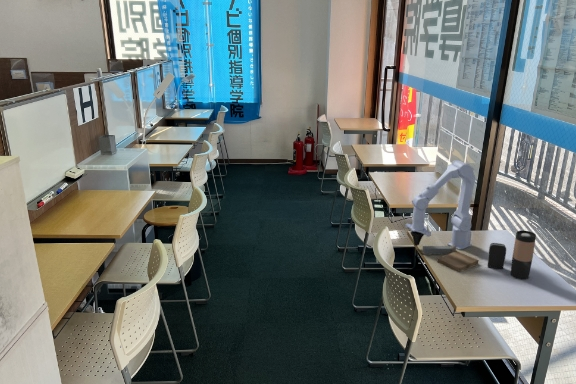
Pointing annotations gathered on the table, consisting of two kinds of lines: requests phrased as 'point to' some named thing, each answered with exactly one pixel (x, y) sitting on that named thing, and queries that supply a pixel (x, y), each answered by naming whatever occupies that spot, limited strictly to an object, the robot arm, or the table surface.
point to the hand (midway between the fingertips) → (416, 244)
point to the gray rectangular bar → (436, 250)
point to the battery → (496, 255)
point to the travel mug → (522, 254)
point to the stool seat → (457, 260)
